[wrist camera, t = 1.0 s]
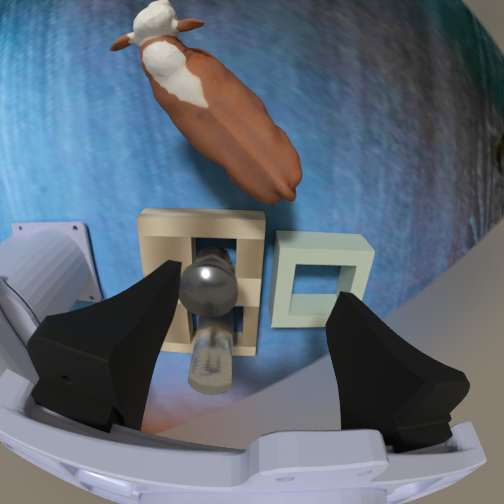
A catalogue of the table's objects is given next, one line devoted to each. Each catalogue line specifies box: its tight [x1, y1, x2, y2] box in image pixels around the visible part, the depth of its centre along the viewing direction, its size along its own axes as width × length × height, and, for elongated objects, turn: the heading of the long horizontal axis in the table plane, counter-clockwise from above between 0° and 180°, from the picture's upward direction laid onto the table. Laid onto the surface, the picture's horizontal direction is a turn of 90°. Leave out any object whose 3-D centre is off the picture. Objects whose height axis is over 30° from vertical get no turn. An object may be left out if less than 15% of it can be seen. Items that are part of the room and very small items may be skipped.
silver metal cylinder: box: [188, 308, 234, 395], centre depth 22 cm, size 3×3×8 cm
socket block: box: [137, 208, 266, 356], centre depth 23 cm, size 9×13×2 cm
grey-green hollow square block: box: [269, 230, 375, 327], centre depth 23 cm, size 7×7×3 cm
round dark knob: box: [179, 245, 238, 317], centre depth 19 cm, size 4×4×4 cm
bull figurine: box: [110, 0, 302, 204], centre depth 14 cm, size 4×13×8 cm, turn 35°
